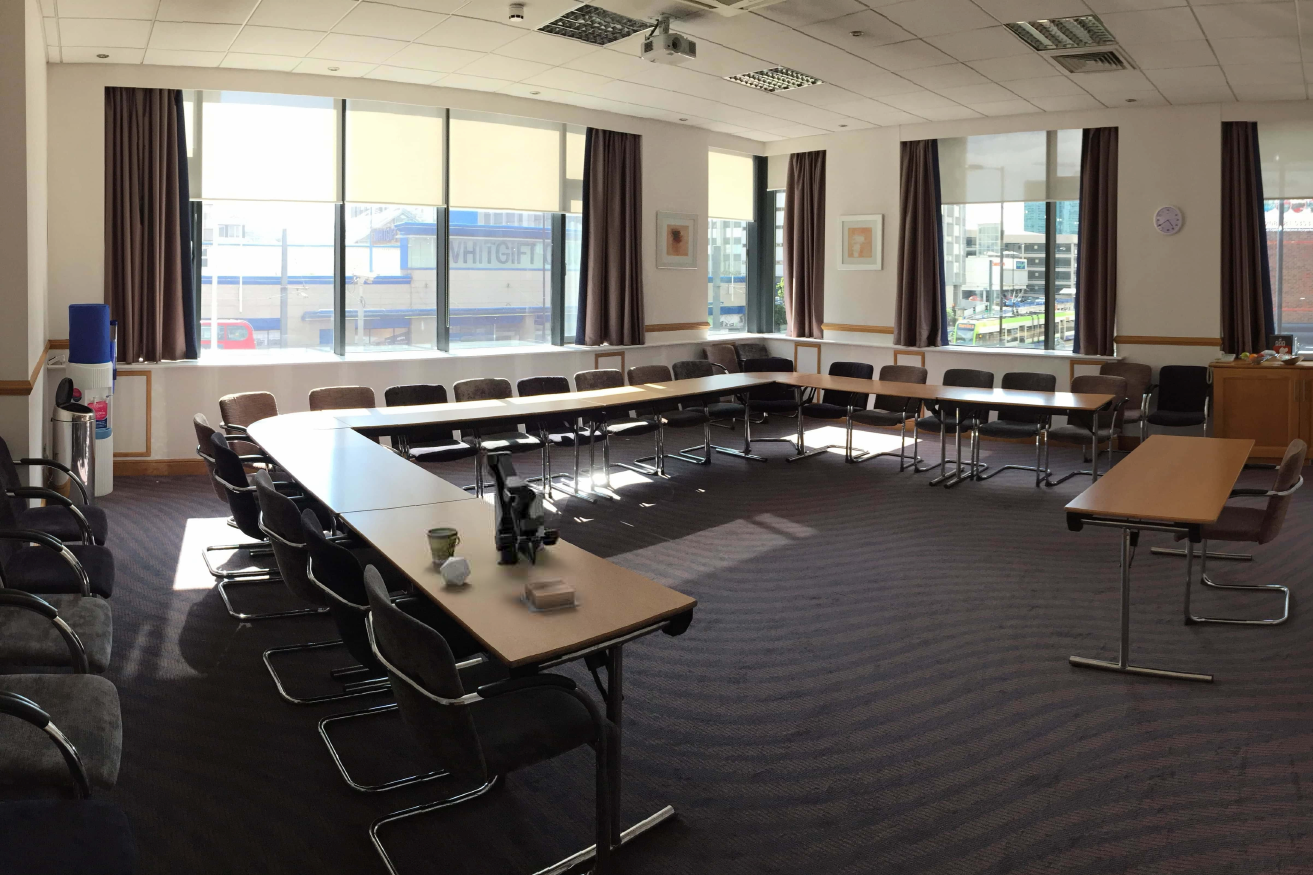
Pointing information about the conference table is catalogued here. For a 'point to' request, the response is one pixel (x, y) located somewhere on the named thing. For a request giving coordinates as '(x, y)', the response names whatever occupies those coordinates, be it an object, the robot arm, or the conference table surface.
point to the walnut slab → (549, 594)
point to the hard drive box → (535, 511)
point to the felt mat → (547, 608)
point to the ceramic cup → (442, 543)
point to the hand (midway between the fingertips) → (533, 564)
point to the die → (455, 571)
